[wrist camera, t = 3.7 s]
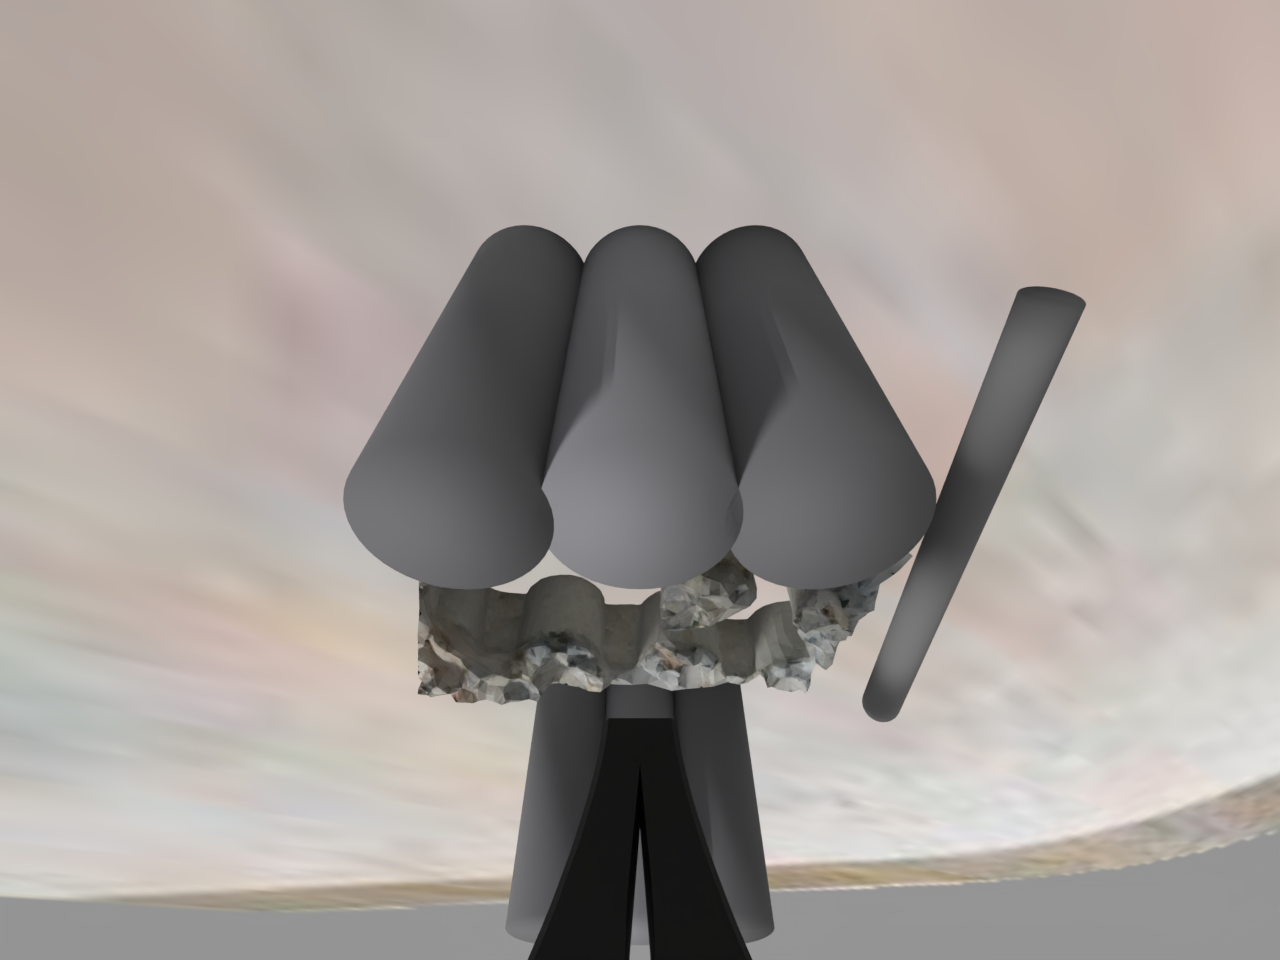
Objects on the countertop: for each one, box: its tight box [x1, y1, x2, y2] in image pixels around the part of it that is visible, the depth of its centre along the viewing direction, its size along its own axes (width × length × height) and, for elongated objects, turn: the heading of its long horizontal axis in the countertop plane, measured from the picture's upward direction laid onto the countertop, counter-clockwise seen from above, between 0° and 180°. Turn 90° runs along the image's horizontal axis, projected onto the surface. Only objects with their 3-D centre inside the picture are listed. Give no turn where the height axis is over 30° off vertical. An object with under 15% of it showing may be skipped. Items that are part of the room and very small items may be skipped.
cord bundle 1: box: [505, 682, 775, 945], centre depth 19 cm, size 2×7×7 cm, turn 90°
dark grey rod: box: [862, 286, 1086, 722], centre depth 17 cm, size 15×1×1 cm, turn 0°
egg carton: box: [418, 549, 913, 705], centre depth 16 cm, size 11×8×4 cm
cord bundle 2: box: [343, 225, 937, 589], centre depth 10 cm, size 2×7×7 cm, turn 90°
